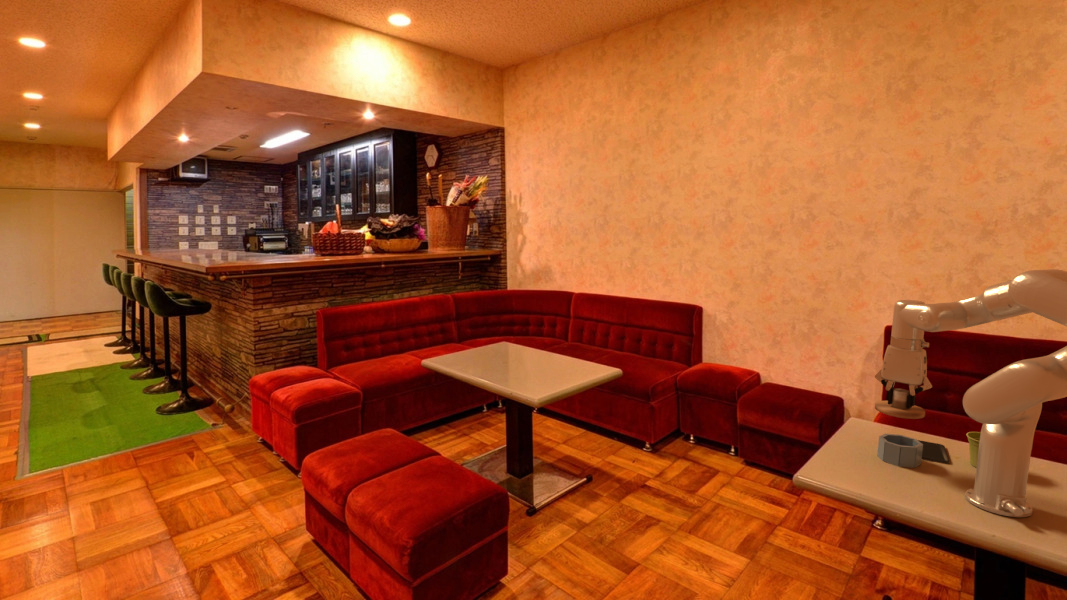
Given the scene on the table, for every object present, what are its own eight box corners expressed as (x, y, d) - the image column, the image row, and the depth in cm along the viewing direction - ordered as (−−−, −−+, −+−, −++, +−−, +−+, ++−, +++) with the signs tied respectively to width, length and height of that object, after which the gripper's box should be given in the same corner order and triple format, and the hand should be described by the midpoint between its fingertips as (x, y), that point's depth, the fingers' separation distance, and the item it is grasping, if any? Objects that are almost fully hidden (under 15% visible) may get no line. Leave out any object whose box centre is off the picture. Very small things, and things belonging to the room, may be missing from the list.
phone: (944, 444, 167) (949, 462, 155) (943, 448, 168) (949, 465, 155) (913, 439, 172) (916, 455, 159) (913, 442, 172) (916, 459, 159)
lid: (934, 420, 148) (936, 398, 147) (886, 417, 150) (888, 396, 149) (911, 405, 159) (913, 385, 158) (867, 403, 161) (869, 383, 160)
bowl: (926, 468, 152) (928, 448, 151) (887, 465, 154) (889, 445, 153) (909, 454, 162) (911, 435, 161) (873, 451, 164) (874, 432, 163)
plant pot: (1013, 470, 151) (1016, 441, 150) (992, 476, 148) (996, 446, 146) (975, 457, 160) (979, 430, 158) (955, 462, 156) (958, 434, 155)
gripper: (946, 346, 148) (938, 410, 150) (877, 337, 160) (871, 395, 163) (938, 350, 143) (931, 416, 146) (868, 340, 156) (863, 400, 158)
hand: (900, 404), depth 154 cm, fingers closed on lid, 4 cm apart
